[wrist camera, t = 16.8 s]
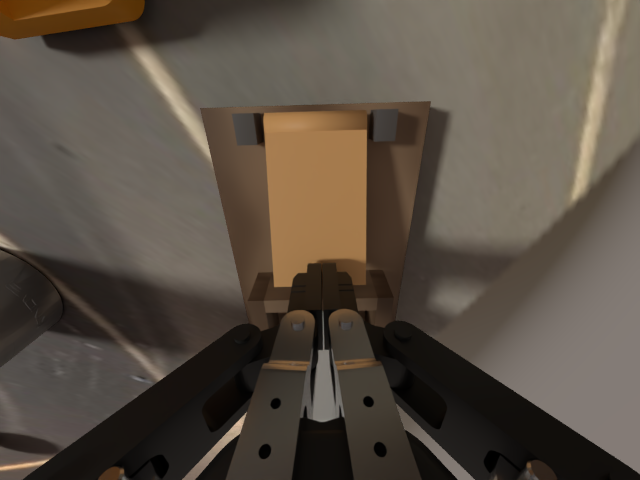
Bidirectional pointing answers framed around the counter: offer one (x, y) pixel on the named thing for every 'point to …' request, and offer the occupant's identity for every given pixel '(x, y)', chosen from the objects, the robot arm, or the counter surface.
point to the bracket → (63, 15)
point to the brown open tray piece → (381, 201)
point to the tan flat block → (317, 191)
